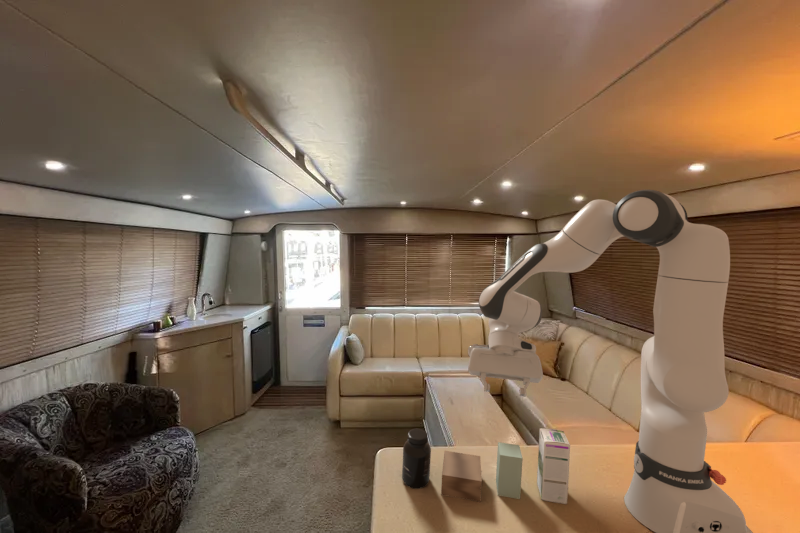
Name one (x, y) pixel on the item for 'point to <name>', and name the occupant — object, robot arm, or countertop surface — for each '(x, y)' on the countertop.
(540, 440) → the syrup box
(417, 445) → the supplement bottle
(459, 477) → the block
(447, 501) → the countertop surface
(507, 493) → the sage block
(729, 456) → the countertop surface
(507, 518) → the countertop surface
